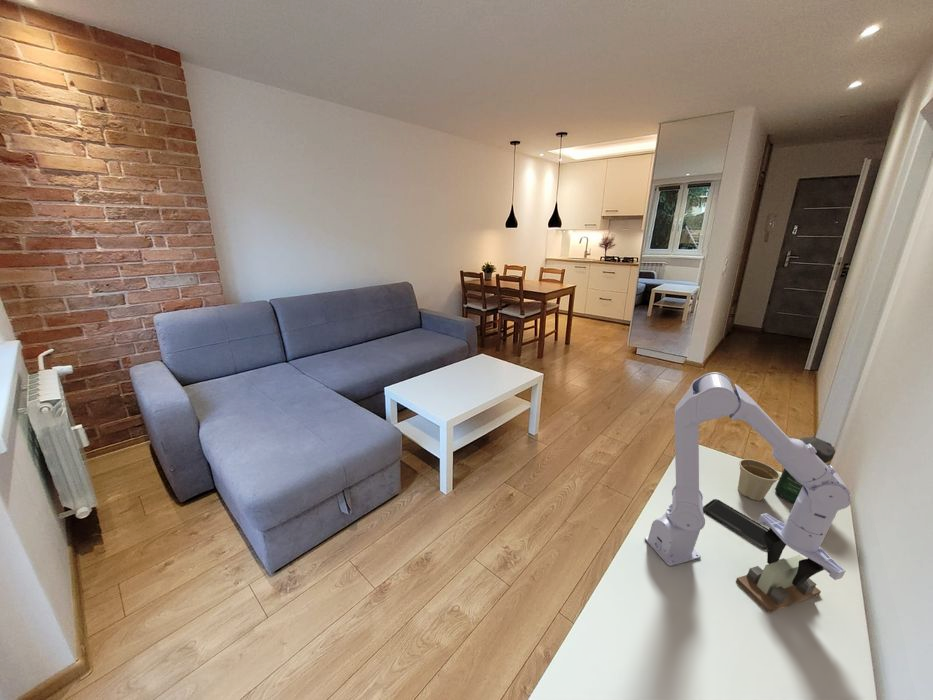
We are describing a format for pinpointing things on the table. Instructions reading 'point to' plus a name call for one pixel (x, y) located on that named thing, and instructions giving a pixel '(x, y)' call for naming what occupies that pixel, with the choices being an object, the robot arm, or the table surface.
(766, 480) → the flower pot
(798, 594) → the rail
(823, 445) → the coffee jar
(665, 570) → the table surface
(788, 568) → the door panel
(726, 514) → the phone
